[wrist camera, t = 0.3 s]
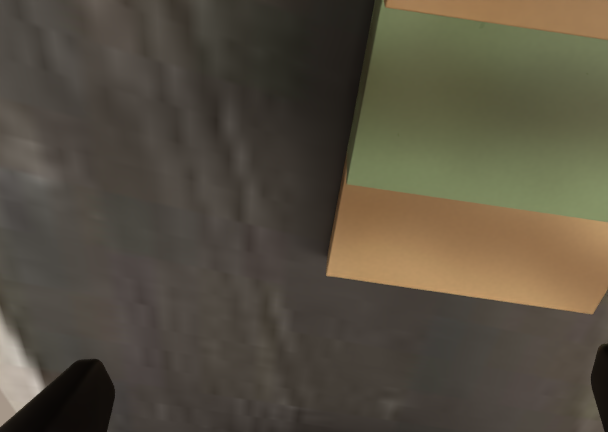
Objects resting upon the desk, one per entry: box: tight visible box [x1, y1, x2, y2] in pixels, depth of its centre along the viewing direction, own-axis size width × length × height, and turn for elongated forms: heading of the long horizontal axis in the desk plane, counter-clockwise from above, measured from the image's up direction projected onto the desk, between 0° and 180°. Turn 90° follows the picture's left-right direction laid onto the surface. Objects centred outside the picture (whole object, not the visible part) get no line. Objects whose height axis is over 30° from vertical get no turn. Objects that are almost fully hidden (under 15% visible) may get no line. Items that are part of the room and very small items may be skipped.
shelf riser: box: [326, 0, 608, 314], centre depth 19 cm, size 19×13×4 cm
